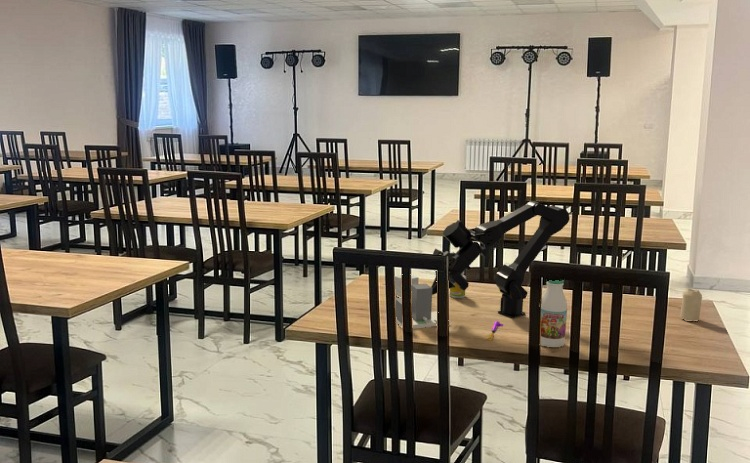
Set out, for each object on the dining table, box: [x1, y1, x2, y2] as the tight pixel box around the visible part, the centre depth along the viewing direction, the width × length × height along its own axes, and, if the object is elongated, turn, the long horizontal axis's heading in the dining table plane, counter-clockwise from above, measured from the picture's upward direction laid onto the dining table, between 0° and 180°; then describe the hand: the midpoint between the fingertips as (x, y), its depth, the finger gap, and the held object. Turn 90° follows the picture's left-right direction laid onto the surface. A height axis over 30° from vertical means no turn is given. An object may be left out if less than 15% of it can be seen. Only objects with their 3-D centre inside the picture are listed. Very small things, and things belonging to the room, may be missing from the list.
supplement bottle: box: [449, 271, 467, 299], centre depth 243 cm, size 5×5×10 cm
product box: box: [394, 274, 419, 297], centre depth 241 cm, size 6×6×7 cm
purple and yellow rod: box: [488, 320, 504, 342], centre depth 209 cm, size 3×1×16 cm
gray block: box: [411, 283, 433, 321], centre depth 215 cm, size 5×9×10 cm, turn 18°
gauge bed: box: [394, 297, 450, 330], centre depth 215 cm, size 15×10×7 cm, turn 108°
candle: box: [679, 288, 703, 321], centre depth 223 cm, size 6×6×10 cm
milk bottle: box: [540, 279, 568, 348], centre depth 198 cm, size 8×8×20 cm
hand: (429, 294), depth 215 cm, fingers closed, pressing on gray block
